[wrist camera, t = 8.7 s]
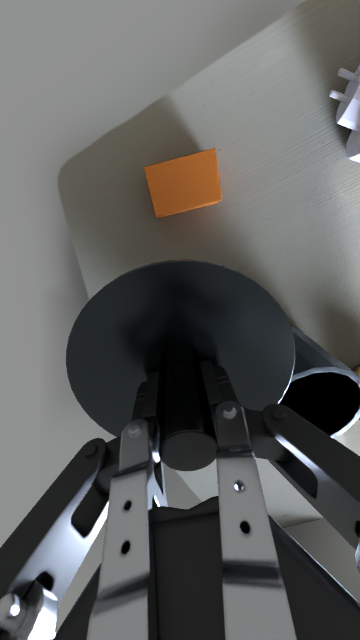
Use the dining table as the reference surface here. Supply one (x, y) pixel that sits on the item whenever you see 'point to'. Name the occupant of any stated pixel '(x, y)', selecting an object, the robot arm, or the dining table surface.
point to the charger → (350, 111)
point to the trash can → (322, 388)
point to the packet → (184, 183)
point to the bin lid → (179, 350)
